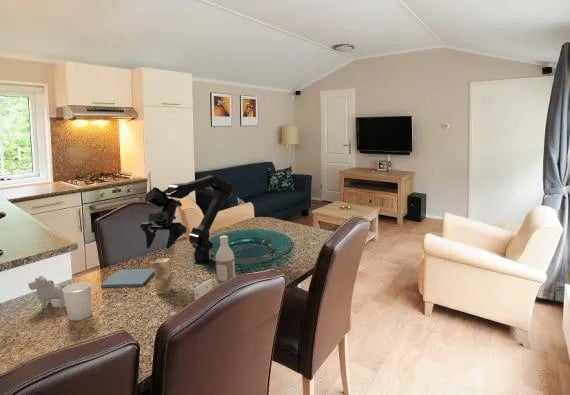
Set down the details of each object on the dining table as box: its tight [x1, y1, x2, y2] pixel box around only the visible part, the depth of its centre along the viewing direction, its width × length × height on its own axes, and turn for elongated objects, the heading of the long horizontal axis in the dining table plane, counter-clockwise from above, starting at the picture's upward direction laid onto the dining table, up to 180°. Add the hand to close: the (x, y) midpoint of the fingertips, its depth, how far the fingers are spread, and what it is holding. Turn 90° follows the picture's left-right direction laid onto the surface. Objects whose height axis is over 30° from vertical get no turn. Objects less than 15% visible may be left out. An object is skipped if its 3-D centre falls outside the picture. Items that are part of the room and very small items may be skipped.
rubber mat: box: [100, 268, 155, 288], centre depth 154 cm, size 16×16×1 cm
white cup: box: [63, 281, 93, 321], centre depth 122 cm, size 8×8×10 cm
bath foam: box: [215, 234, 236, 285], centre depth 141 cm, size 7×7×20 cm
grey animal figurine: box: [28, 275, 68, 309], centre depth 130 cm, size 5×13×11 cm, turn 93°
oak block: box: [153, 257, 173, 295], centre depth 140 cm, size 4×4×12 cm
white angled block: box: [193, 278, 214, 301], centre depth 127 cm, size 4×10×9 cm, turn 84°
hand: (157, 248), depth 148 cm, fingers open, 9 cm apart
